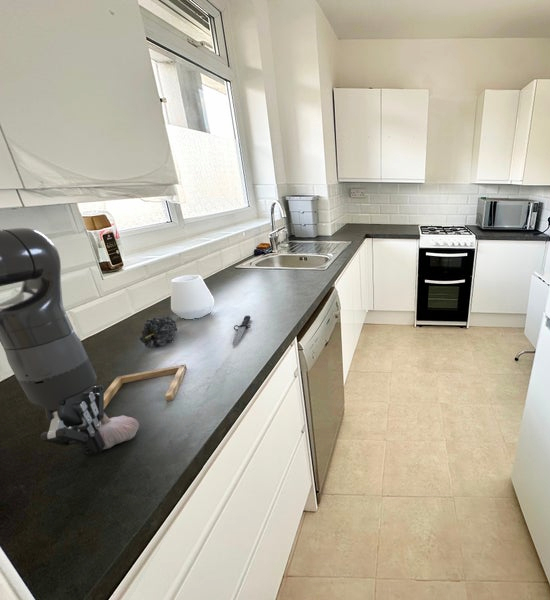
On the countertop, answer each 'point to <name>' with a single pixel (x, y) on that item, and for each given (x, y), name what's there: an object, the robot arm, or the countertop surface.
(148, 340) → the fruit
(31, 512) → the countertop surface
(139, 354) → the countertop surface
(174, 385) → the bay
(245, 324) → the knife
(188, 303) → the white tapered hollow cylinder
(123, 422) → the garlic bulb
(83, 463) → the countertop surface
